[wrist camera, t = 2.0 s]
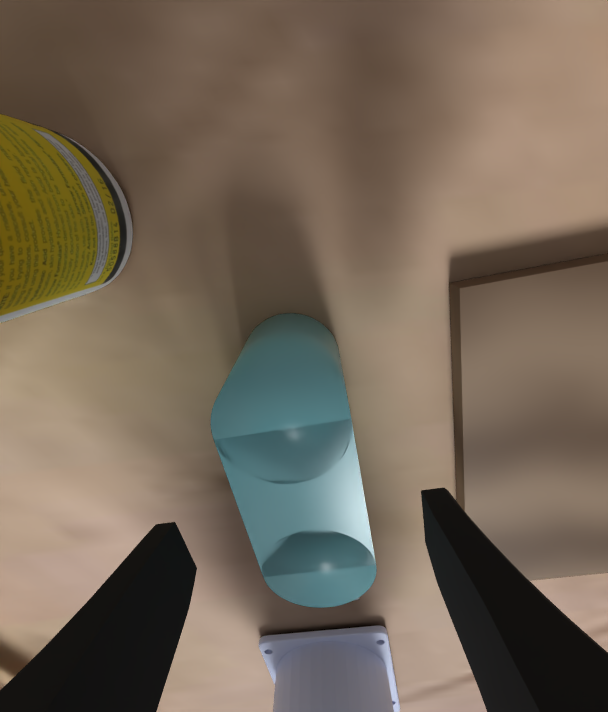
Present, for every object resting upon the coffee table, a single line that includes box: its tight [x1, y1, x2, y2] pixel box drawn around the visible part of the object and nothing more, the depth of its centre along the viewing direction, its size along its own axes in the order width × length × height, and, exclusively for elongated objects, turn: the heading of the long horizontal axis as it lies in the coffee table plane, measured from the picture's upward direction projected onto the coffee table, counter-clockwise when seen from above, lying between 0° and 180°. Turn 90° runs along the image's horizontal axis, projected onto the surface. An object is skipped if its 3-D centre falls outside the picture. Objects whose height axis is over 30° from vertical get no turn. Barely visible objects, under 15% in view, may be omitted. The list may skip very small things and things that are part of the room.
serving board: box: [449, 254, 608, 581], centre depth 15 cm, size 16×11×1 cm
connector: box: [211, 313, 376, 608], centre depth 14 cm, size 13×4×5 cm, turn 11°
